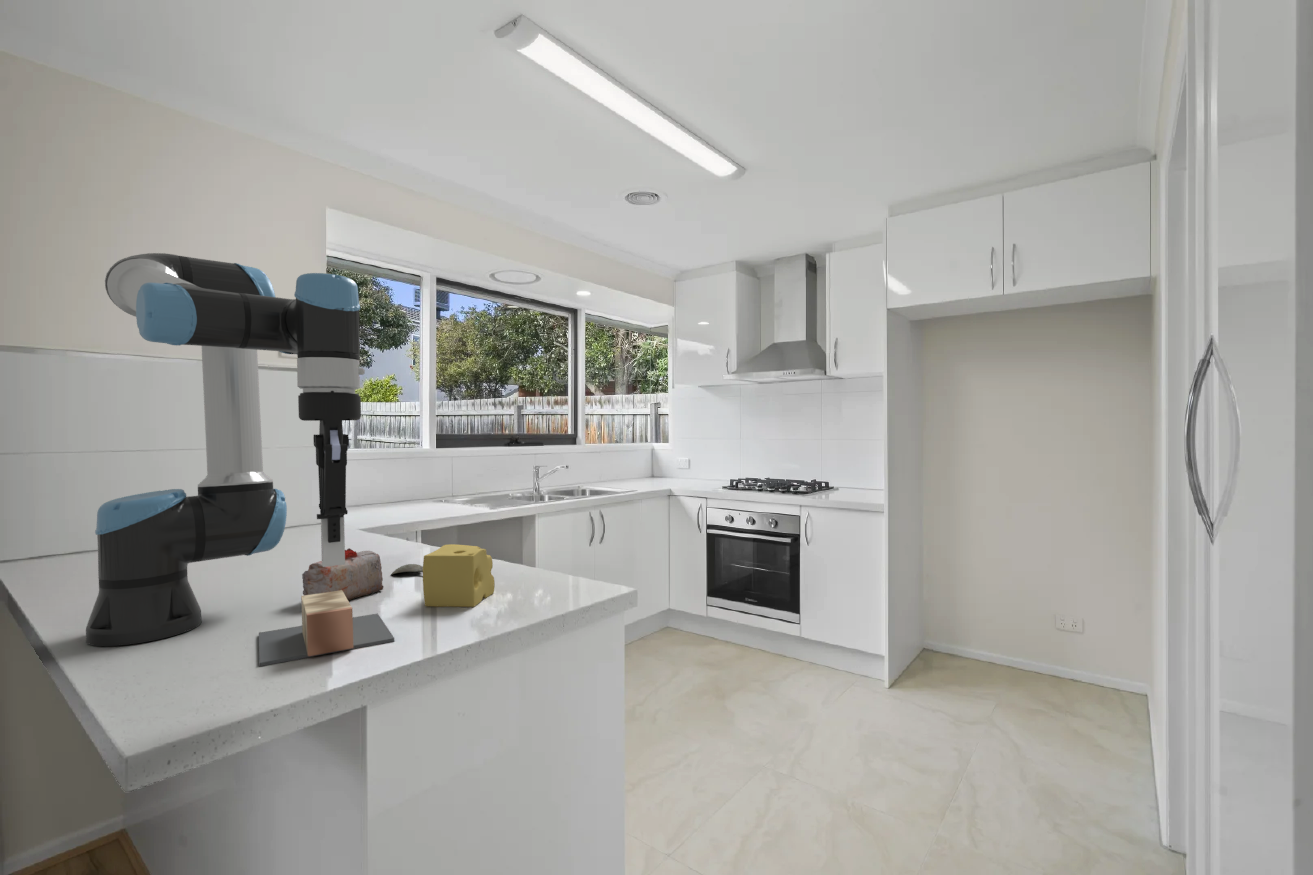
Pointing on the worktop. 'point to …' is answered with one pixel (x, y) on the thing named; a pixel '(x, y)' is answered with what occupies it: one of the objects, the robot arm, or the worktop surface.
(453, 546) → the cheese
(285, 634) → the mat
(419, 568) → the soupspoon
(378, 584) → the food item
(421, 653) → the worktop surface
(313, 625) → the block
